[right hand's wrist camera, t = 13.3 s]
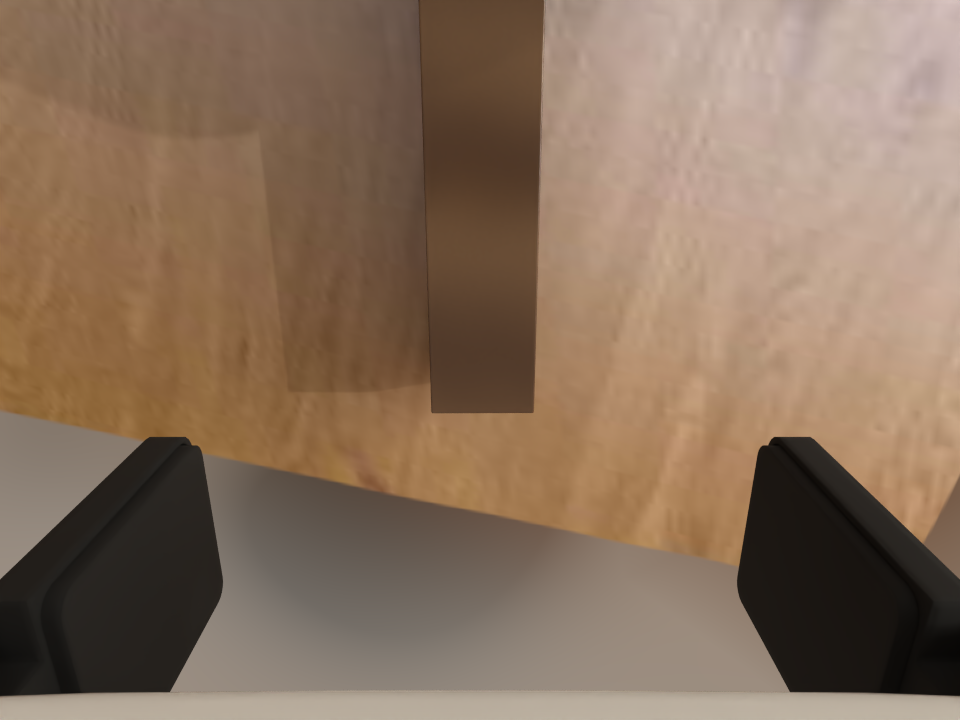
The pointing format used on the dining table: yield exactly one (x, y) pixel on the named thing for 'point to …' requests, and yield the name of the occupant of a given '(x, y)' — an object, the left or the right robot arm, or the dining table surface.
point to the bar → (482, 199)
